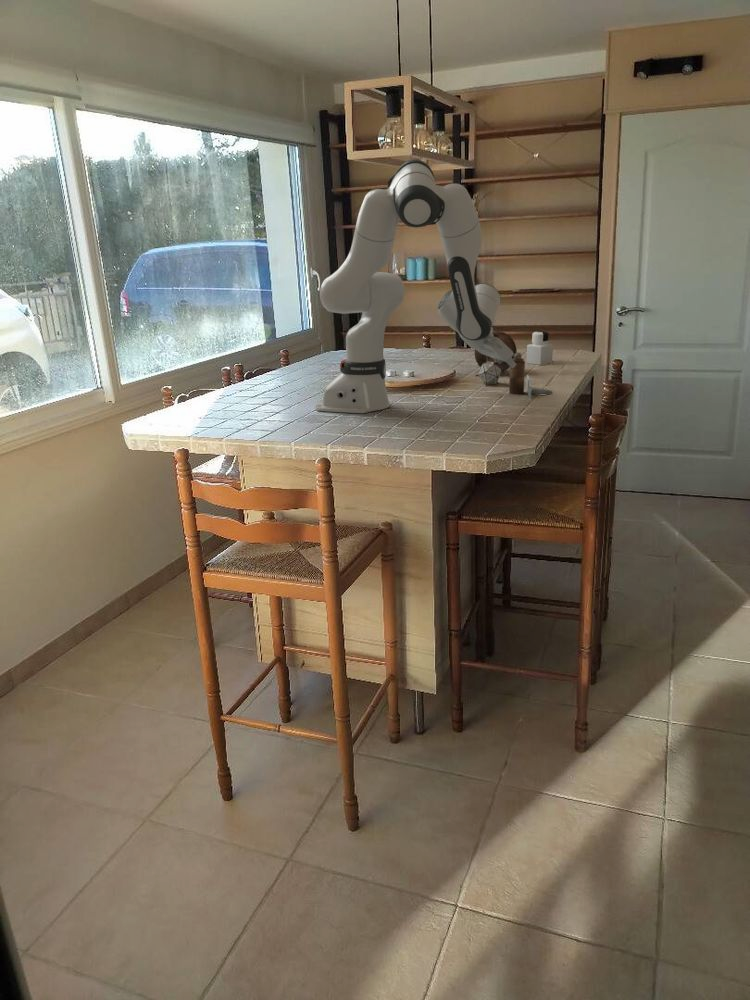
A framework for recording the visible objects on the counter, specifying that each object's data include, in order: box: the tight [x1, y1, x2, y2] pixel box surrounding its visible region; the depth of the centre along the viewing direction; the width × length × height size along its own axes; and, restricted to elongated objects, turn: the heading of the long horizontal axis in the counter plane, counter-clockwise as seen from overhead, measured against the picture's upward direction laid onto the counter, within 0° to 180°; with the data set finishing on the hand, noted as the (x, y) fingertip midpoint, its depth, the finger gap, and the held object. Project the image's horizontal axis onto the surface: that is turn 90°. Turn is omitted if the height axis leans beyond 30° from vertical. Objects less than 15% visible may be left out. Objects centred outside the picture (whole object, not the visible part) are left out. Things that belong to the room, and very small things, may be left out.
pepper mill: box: [508, 352, 526, 395], centre depth 241 cm, size 5×5×13 cm
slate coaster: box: [531, 388, 552, 395], centre depth 242 cm, size 7×7×1 cm
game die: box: [475, 360, 505, 387], centre depth 256 cm, size 9×8×10 cm
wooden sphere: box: [474, 330, 518, 373], centre depth 274 cm, size 15×15×15 cm
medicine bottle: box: [525, 330, 554, 366], centre depth 291 cm, size 7×7×12 cm
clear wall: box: [525, 374, 532, 399], centre depth 242 cm, size 1×18×4 cm, turn 172°
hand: (507, 364), depth 238 cm, fingers open, 8 cm apart
